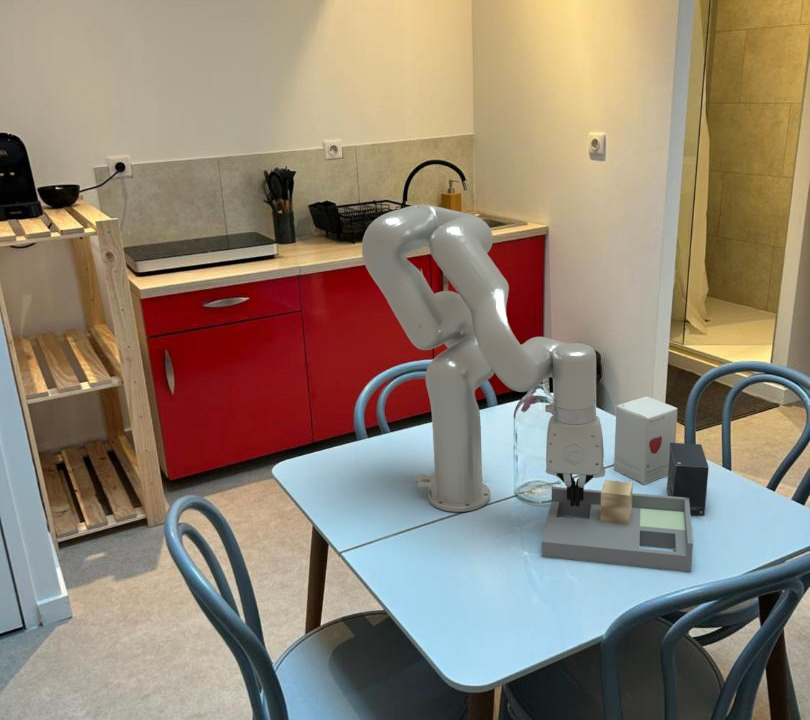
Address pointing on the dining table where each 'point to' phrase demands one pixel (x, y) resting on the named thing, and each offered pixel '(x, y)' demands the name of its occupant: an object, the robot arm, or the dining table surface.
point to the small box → (688, 475)
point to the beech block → (616, 502)
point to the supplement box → (644, 438)
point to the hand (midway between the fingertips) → (575, 502)
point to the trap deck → (620, 532)
